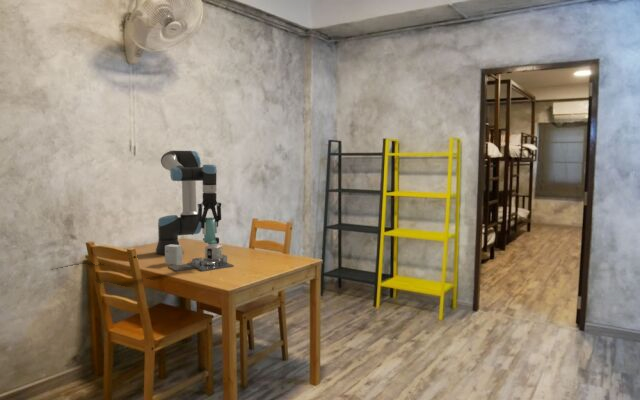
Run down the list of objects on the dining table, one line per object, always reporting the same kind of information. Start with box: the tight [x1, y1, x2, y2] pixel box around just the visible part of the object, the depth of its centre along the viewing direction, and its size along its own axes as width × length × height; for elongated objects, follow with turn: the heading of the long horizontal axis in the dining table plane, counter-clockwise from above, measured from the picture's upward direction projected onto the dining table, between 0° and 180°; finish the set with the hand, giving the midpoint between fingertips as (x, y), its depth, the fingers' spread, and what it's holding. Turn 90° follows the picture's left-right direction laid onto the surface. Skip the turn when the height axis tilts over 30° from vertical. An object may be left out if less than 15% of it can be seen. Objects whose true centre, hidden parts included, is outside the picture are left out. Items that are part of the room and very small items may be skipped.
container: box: [204, 236, 223, 261], centre depth 274 cm, size 8×8×13 cm
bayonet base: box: [186, 253, 234, 272], centre depth 256 cm, size 19×19×5 cm
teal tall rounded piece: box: [202, 216, 217, 244], centre depth 255 cm, size 6×12×14 cm, turn 40°
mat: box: [167, 263, 197, 273], centre depth 250 cm, size 11×11×1 cm
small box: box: [164, 244, 184, 266], centre depth 260 cm, size 8×6×10 cm
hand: (209, 233), depth 255 cm, fingers closed on teal tall rounded piece, 6 cm apart
